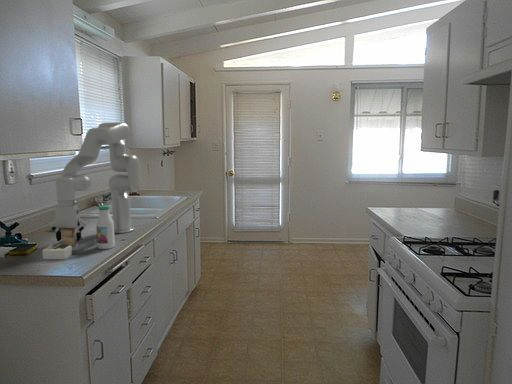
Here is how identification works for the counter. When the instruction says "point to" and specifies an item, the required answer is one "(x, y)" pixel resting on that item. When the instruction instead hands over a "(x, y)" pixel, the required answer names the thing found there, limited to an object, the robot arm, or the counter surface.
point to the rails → (61, 244)
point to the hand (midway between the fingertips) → (69, 240)
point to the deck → (78, 249)
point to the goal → (57, 253)
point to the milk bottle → (105, 229)
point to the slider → (68, 236)
